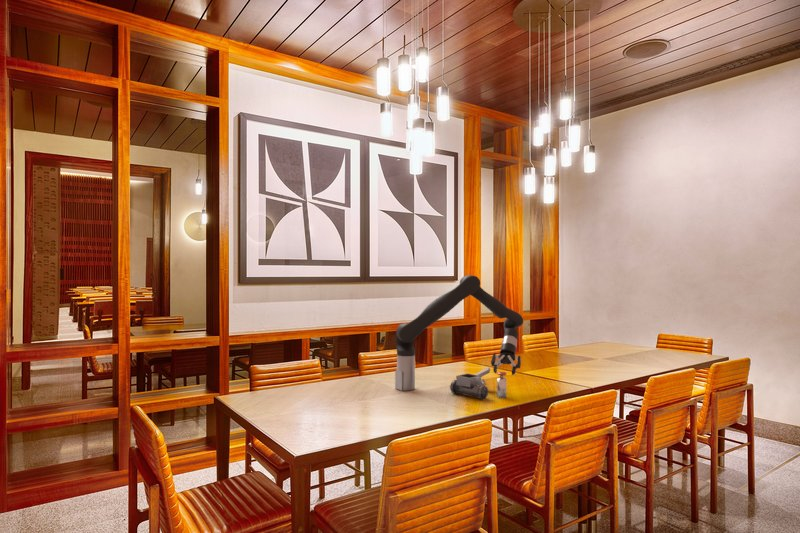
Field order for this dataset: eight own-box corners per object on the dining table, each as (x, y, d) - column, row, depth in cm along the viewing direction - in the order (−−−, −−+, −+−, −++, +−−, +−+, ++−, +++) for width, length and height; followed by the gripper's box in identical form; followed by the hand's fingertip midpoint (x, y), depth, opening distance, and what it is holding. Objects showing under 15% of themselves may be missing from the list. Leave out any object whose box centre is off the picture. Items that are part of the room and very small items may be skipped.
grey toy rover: (489, 398, 234) (489, 377, 234) (478, 401, 228) (478, 380, 228) (459, 391, 247) (459, 371, 247) (448, 394, 241) (448, 374, 241)
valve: (501, 398, 233) (501, 374, 233) (495, 396, 236) (495, 372, 236) (508, 397, 235) (508, 373, 235) (501, 395, 239) (501, 371, 239)
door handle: (461, 401, 250) (496, 384, 246) (453, 387, 251) (488, 369, 247) (465, 392, 267) (497, 376, 263) (457, 379, 268) (490, 362, 264)
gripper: (493, 341, 252) (488, 367, 241) (522, 343, 246) (517, 370, 235) (496, 350, 256) (490, 376, 246) (524, 352, 250) (519, 379, 240)
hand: (503, 373), depth 240 cm, fingers open, 8 cm apart
